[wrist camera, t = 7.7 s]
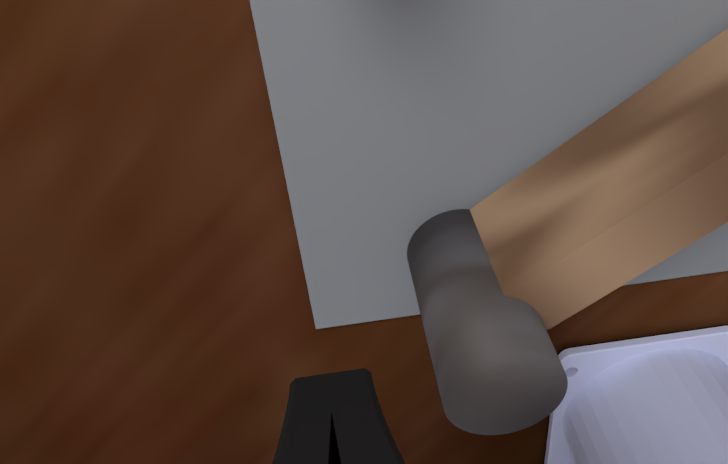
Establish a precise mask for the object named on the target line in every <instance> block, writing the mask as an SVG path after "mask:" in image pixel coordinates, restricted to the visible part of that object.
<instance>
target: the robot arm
mask: <svg viewBox="0 0 728 464" xmlns="http://www.w3.org/2000/svg"><path fill="white" fill-rule="evenodd" d="M558 357H559V359H560V362H561V364H562V366H563V368H564V371H565V373H566V376H567V380H568V386H567V391H566V394H565V396H564V398H563V400H562V402H561V403H560V405H559V406H558V407H557V408H556V409H555V410H554V411H553V412H552V413H551V414H550V420H549V428H548V437H547V445H546V454H545V462H544V464H728V325H726V326H719V327H712V328H705V329H698V330H691V331H684V332H677V333H670V334H664V335H657V336H650V337H643V338H636V339H629V340H622V341H615V342H608V343H601V344H594V345H587V346H580V347H573V348H568V349H565V350H563V351H562V352H561V353H560V354H559V355H558ZM272 464H405V463H404V461H403V459H402V457H401V455H400V453H399V451H398V448H397V446H396V444H395V442H394V440H393V437H392V435H391V433H390V430H389V428H388V425H387V423H386V420H385V418H384V416H383V413H382V410H381V407H380V405H379V402H378V398H377V395H376V392H375V388H374V385H373V380H372V375H371V372H370V371H368V370H366V369H357V370H350V371H343V372H336V373H329V374H322V375H315V376H308V377H301V378H296V379H295V380H294V381H293V382H292V383H291V384H290V392H289V399H288V404H287V409H286V414H285V419H284V423H283V427H282V431H281V435H280V439H279V443H278V446H277V450H276V454H275V457H274V460H273V463H272Z"/></svg>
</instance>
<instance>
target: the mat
mask: <svg viewBox="0 0 728 464" xmlns="http://www.w3.org/2000/svg"><path fill="white" fill-rule="evenodd" d="M250 5H251V10H252V15H253V20H254V25H255V29H256V34H257V39H258V44H259V49H260V54H261V59H262V64H263V69H264V74H265V79H266V84H267V89H268V94H269V99H270V104H271V109H272V114H273V119H274V124H275V129H276V134H277V139H278V143H279V148H280V153H281V158H282V163H283V168H284V173H285V178H286V183H287V188H288V193H289V198H290V203H291V208H292V213H293V218H294V223H295V228H296V233H297V238H298V243H299V248H300V252H301V257H302V262H303V267H304V272H305V277H306V282H307V287H308V292H309V297H310V302H311V307H312V312H313V317H314V322H315V327H316V329H320V328H327V327H334V326H341V325H348V324H355V323H362V322H369V321H376V320H383V319H391V318H398V317H405V316H412V315H419V314H420V310H419V306H418V301H417V297H416V293H415V289H414V285H413V281H412V277H411V272H410V268H409V264H408V260H407V248H408V244H409V242H410V239H411V237H412V236H413V234H414V233H415V231H416V230H417V229H418V228H419V227H420V226H421V225H422V224H423V223H424V222H426V221H427V220H429V219H430V218H432V217H434V216H436V215H438V214H440V213H443V212H446V211H450V210H457V209H471V208H472V207H474V206H475V205H477V204H478V203H479V202H481V201H482V200H484V199H485V198H487V197H488V196H489V195H491V194H492V193H494V192H495V191H497V190H498V189H499V188H501V187H502V186H504V185H505V184H506V183H508V182H509V181H511V180H512V179H514V178H515V177H516V176H518V175H519V174H521V173H522V172H524V171H525V170H526V169H528V168H529V167H531V166H532V165H534V164H535V163H536V162H538V161H539V160H541V159H542V158H543V157H545V156H546V155H548V154H549V153H551V152H552V151H553V150H555V149H556V148H558V147H559V146H561V145H562V144H563V143H565V142H566V141H568V140H569V139H571V138H572V137H573V136H575V135H576V134H578V133H579V132H581V131H582V130H583V129H585V128H586V127H588V126H589V125H590V124H592V123H593V122H595V121H596V120H598V119H599V118H600V117H602V116H603V115H605V114H606V113H608V112H609V111H610V110H612V109H613V108H615V107H616V106H618V105H619V104H620V103H622V102H623V101H625V100H626V99H627V98H629V97H630V96H632V95H633V94H635V93H636V92H637V91H639V90H640V89H642V88H643V87H645V86H646V85H647V84H649V83H650V82H652V81H653V80H655V79H656V78H657V77H659V76H660V75H662V74H663V73H664V72H666V71H667V70H669V69H670V68H672V67H673V66H674V65H676V64H677V63H679V62H680V61H682V60H683V59H684V58H686V57H687V56H689V55H690V54H692V53H693V52H694V51H696V50H697V49H699V48H700V47H702V46H703V45H704V44H706V43H707V42H709V41H710V40H711V39H713V38H714V37H716V36H717V35H719V34H720V33H721V32H723V31H724V30H726V29H727V28H728V0H250ZM722 271H728V222H727V223H725V224H724V225H722V226H720V227H719V228H717V229H715V230H714V231H712V232H710V233H709V234H707V235H705V236H704V237H702V238H700V239H699V240H697V241H695V242H694V243H692V244H690V245H689V246H687V247H685V248H684V249H682V250H680V251H679V252H677V253H675V254H674V255H672V256H670V257H669V258H667V259H665V260H664V261H662V262H660V263H659V264H657V265H655V266H654V267H652V268H650V269H649V270H647V271H645V272H644V273H642V274H640V275H639V276H637V277H635V278H634V279H632V280H630V281H629V282H627V283H625V284H624V285H630V284H637V283H644V282H651V281H658V280H665V279H673V278H680V277H687V276H694V275H701V274H708V273H715V272H722ZM622 286H623V285H622Z"/></svg>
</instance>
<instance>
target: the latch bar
mask: <svg viewBox="0 0 728 464" xmlns="http://www.w3.org/2000/svg"><path fill="white" fill-rule="evenodd" d="M727 222H728V28H727V29H726V30H724V31H723V32H721V33H720V34H719V35H717V36H716V37H714V38H713V39H711V40H710V41H709V42H707V43H706V44H704V45H703V46H702V47H700V48H699V49H697V50H696V51H694V52H693V53H692V54H690V55H689V56H687V57H686V58H684V59H683V60H682V61H680V62H679V63H677V64H676V65H674V66H673V67H672V68H670V69H669V70H667V71H666V72H664V73H663V74H662V75H660V76H659V77H657V78H656V79H655V80H653V81H652V82H650V83H649V84H647V85H646V86H645V87H643V88H642V89H640V90H639V91H637V92H636V93H635V94H633V95H632V96H630V97H629V98H627V99H626V100H625V101H623V102H622V103H620V104H619V105H618V106H616V107H615V108H613V109H612V110H610V111H609V112H608V113H606V114H605V115H603V116H602V117H600V118H599V119H598V120H596V121H595V122H593V123H592V124H590V125H589V126H588V127H586V128H585V129H583V130H582V131H581V132H579V133H578V134H576V135H575V136H573V137H572V138H571V139H569V140H568V141H566V142H565V143H563V144H562V145H561V146H559V147H558V148H556V149H555V150H553V151H552V152H551V153H549V154H548V155H546V156H545V157H543V158H542V159H541V160H539V161H538V162H536V163H535V164H534V165H532V166H531V167H529V168H528V169H526V170H525V171H524V172H522V173H521V174H519V175H518V176H516V177H515V178H514V179H512V180H511V181H509V182H508V183H506V184H505V185H504V186H502V187H501V188H499V189H498V190H497V191H495V192H494V193H492V194H491V195H489V196H488V197H487V198H485V199H484V200H482V201H481V202H479V203H478V204H477V205H475V206H474V207H472V208H471V209H457V210H450V211H446V212H443V213H440V214H438V215H436V216H434V217H432V218H430V219H429V220H427V221H426V222H424V223H423V224H422V225H421V226H420V227H419V228H418V229H417V230H416V231H415V233H414V234H413V236H412V237H411V239H410V242H409V244H408V248H407V260H408V264H409V268H410V272H411V277H412V281H413V285H414V289H415V293H416V297H417V301H418V306H419V310H420V314H421V318H422V322H423V326H424V330H425V335H426V339H427V343H428V347H429V351H430V355H431V359H432V364H433V368H434V372H435V376H436V380H437V384H438V388H439V393H440V397H441V401H442V405H443V409H444V413H445V415H446V417H447V418H448V420H449V421H450V422H451V423H452V424H453V425H455V426H456V427H458V428H459V429H462V430H464V431H466V432H470V433H474V434H480V435H501V434H507V433H512V432H516V431H519V430H522V429H525V428H527V427H530V426H532V425H534V424H536V423H538V422H540V421H541V420H543V419H544V418H546V417H547V416H548V415H550V414H551V413H552V412H553V411H554V410H555V409H556V408H557V407H558V406H559V405H560V403H561V402H562V400H563V398H564V396H565V394H566V391H567V386H568V380H567V376H566V373H565V371H564V368H563V366H562V364H561V362H560V359H559V357H558V355H557V353H556V351H555V348H554V346H553V344H552V342H551V339H550V337H549V335H548V333H547V330H549V329H551V328H552V327H554V326H555V325H557V324H559V323H560V322H562V321H564V320H565V319H567V318H569V317H570V316H572V315H574V314H575V313H577V312H579V311H580V310H582V309H584V308H585V307H587V306H589V305H590V304H592V303H594V302H595V301H597V300H599V299H600V298H602V297H604V296H605V295H607V294H609V293H610V292H612V291H614V290H615V289H617V288H619V287H620V286H622V285H624V284H625V283H627V282H629V281H630V280H632V279H634V278H635V277H637V276H639V275H640V274H642V273H644V272H645V271H647V270H649V269H650V268H652V267H654V266H655V265H657V264H659V263H660V262H662V261H664V260H665V259H667V258H669V257H670V256H672V255H674V254H675V253H677V252H679V251H680V250H682V249H684V248H685V247H687V246H689V245H690V244H692V243H694V242H695V241H697V240H699V239H700V238H702V237H704V236H705V235H707V234H709V233H710V232H712V231H714V230H715V229H717V228H719V227H720V226H722V225H724V224H725V223H727Z"/></svg>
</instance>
